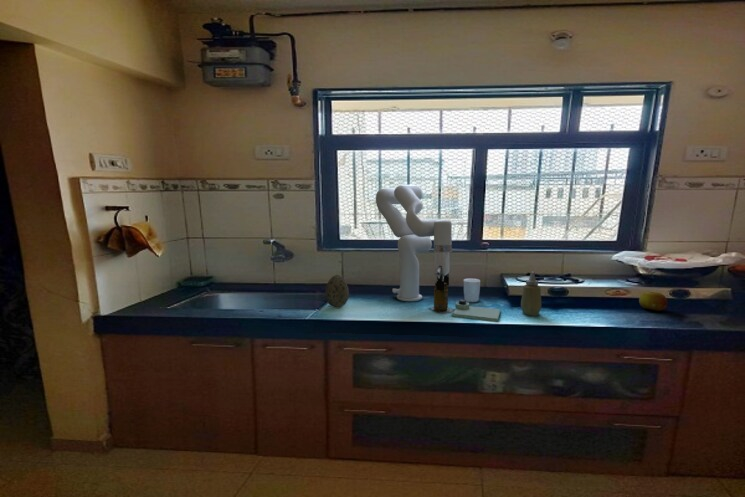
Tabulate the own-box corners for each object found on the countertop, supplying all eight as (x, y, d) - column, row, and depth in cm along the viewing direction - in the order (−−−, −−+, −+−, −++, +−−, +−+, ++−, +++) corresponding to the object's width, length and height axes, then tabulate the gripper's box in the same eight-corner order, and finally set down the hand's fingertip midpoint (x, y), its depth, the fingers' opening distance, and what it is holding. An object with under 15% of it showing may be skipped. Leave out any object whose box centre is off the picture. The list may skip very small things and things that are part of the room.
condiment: (442, 306, 160) (442, 280, 159) (454, 311, 153) (454, 284, 151) (429, 308, 157) (429, 282, 156) (440, 313, 150) (441, 286, 148)
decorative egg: (344, 302, 168) (343, 272, 166) (352, 308, 159) (352, 276, 157) (322, 305, 164) (321, 274, 162) (330, 312, 154) (329, 278, 152)
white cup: (478, 298, 173) (478, 278, 171) (481, 302, 165) (482, 282, 164) (461, 298, 173) (462, 278, 172) (464, 302, 166) (464, 281, 164)
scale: (451, 316, 146) (451, 309, 146) (456, 307, 158) (456, 301, 158) (497, 321, 139) (498, 314, 139) (500, 312, 151) (500, 305, 150)
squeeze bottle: (532, 318, 143) (534, 274, 140) (516, 312, 150) (517, 271, 147) (545, 315, 146) (547, 272, 144) (529, 309, 153) (530, 269, 151)
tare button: (458, 304, 153) (458, 301, 153) (459, 303, 156) (459, 299, 156) (465, 305, 152) (465, 301, 152) (466, 303, 155) (466, 299, 155)
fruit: (663, 308, 152) (665, 290, 151) (669, 314, 144) (671, 295, 143) (636, 306, 157) (638, 288, 156) (640, 311, 149) (642, 293, 148)
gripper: (438, 246, 161) (438, 283, 163) (429, 250, 145) (429, 291, 147) (455, 246, 158) (455, 284, 160) (447, 251, 142) (447, 292, 144)
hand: (442, 287), depth 153 cm, fingers open, 9 cm apart
